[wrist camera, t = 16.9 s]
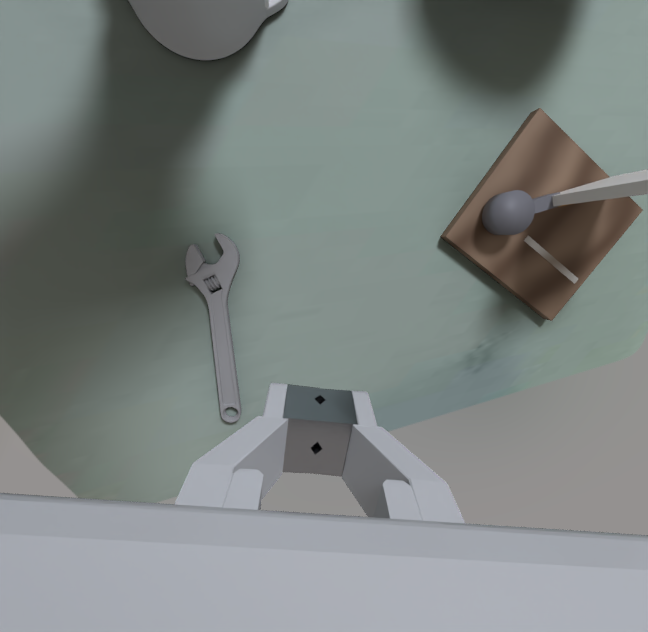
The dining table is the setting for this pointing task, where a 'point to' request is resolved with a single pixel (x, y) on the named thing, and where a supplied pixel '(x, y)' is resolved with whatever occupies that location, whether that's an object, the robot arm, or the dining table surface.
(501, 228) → the white upright panel
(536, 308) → the dial board
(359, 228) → the dining table surface
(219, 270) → the adjustable wrench
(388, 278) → the dining table surface
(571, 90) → the dining table surface
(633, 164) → the dining table surface
